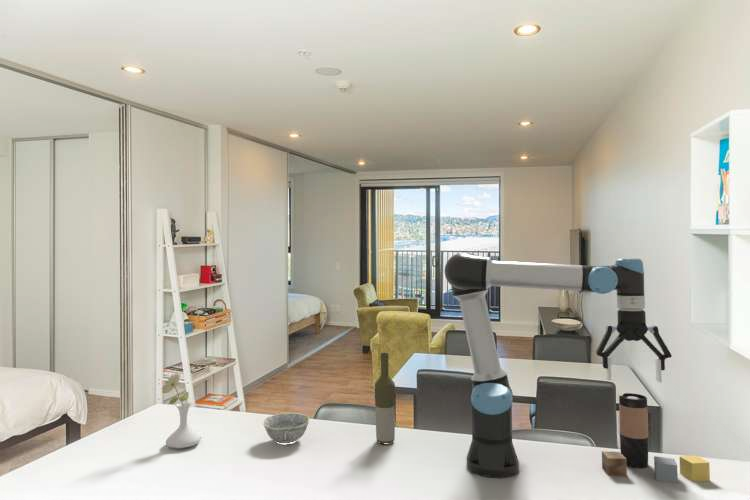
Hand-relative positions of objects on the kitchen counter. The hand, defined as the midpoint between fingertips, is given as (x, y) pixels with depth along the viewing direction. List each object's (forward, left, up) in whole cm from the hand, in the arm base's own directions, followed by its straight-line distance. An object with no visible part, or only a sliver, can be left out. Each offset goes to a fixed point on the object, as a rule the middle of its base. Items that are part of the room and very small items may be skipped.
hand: (633, 380), depth 148 cm
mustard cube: (+14, -6, -25) cm, 29 cm away
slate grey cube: (+6, -9, -25) cm, 27 cm away
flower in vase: (-143, -21, -25) cm, 147 cm away
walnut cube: (-7, -8, -25) cm, 27 cm away
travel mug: (0, 0, -25) cm, 25 cm away
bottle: (-77, -1, -25) cm, 81 cm away
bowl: (-110, -9, -25) cm, 113 cm away
